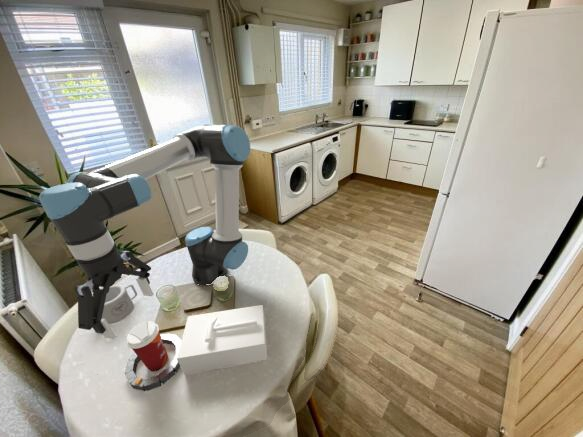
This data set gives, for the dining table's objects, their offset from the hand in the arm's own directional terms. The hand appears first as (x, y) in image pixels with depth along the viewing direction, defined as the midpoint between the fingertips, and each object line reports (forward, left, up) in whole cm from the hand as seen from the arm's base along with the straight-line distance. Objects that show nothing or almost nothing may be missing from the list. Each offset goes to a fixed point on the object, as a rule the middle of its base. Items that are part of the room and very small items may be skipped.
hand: (131, 314), depth 65 cm
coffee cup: (0, 0, -23) cm, 23 cm away
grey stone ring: (0, 0, -22) cm, 22 cm away
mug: (+16, -28, -23) cm, 39 cm away
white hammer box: (-22, +3, -23) cm, 32 cm away
